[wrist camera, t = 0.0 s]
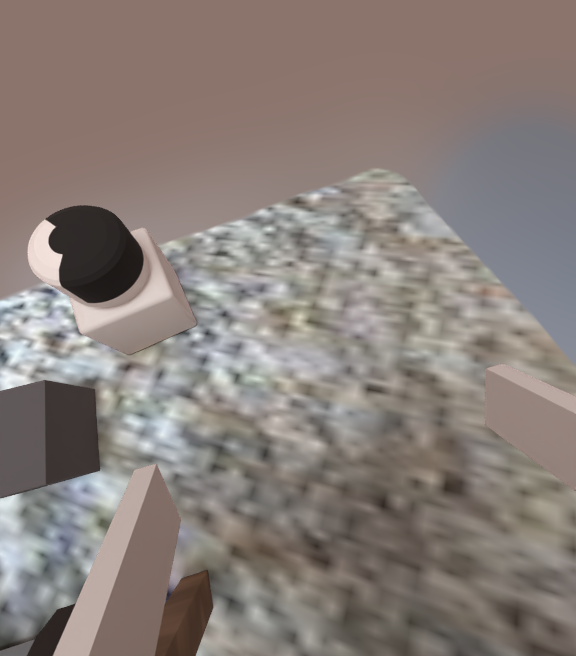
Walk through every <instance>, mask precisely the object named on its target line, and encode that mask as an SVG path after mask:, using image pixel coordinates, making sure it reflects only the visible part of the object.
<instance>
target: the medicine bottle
mask: <svg viewBox="0 0 576 656" xmlns="http://www.w3.org/2000/svg"><path fill="white" fill-rule="evenodd" d="M28 261H29V264H30V267H31V269H32V271H33V272H34V274H35V275H36V276H37V277H39V278H40V279H41V280H43V281H44V282H46V283H47V284H49V285H51V286H52V287H54V288H56V289H57V290H59V291H61V292H62V293H64V294H66V295H67V296H69V298H70V301H71V305H72V308H73V311H74V315H75V318H76V322H77V325H78V329H79V331H80V333H81V334H83V335H85V336H87V337H89V338H92V339H94V340H96V341H98V342H100V343H103V344H105V345H107V346H109V347H111V348H114V349H116V350H118V351H120V352H122V353H125V354H127V355H130V354H133V353H135V352H137V351H139V350H142V349H144V348H146V347H149V346H151V345H153V344H155V343H158V342H160V341H162V340H164V339H167V338H169V337H171V336H174V335H176V334H178V333H180V332H183V331H185V330H187V329H189V328H192V327H194V326H195V325H196V320H195V317H194V315H193V313H192V310H191V308H190V306H189V303H188V301H187V299H186V296H185V294H184V292H183V289H182V287H181V285H180V282H179V280H178V278H177V275H176V273H175V271H174V269H173V267H172V266H171V264H170V263H169V262H168V260H167V259H166V257H165V256H164V254H163V253H162V251H161V250H160V248H159V247H158V246H157V244H156V243H155V241H154V240H153V238H152V237H151V235H150V234H149V232H148V231H147V230H146V229H145V228H140V229H137V230H134V231H132V232H129V230H128V229H127V228H126V227H125V225H124V224H123V223H122V221H121V220H120V219H119V218H118V217H117V216H116V215H115V214H113V213H112V212H110V211H108V210H106V209H103V208H100V207H95V206H73V207H69V208H65V209H62V210H60V211H58V212H55V213H54V214H52V215H50V216H49V217H48V218H46V219H45V220H44V221H43V222H42V223H41V224H40V225H39V226H38V227H37V228H36V229H35V231H34V232H33V234H32V236H31V238H30V241H29V244H28Z"/></svg>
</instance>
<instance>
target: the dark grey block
mask: <svg viewBox="0 0 576 656" xmlns="http://www.w3.org/2000/svg"><path fill="white" fill-rule="evenodd" d="M97 471H100V466H99V449H98V433H97V417H96V401H95V389H90V388H84V387H79V386H74V385H68V384H63V383H58V382H52V381H47V380H43V381H39V382H35V383H31V384H27V385H23V386H19V387H15V388H11V389H7V390H3V391H0V498H4V497H8V496H12V495H15V494H19V493H23V492H27V491H30V490H34V489H37V488H41V487H44V486H48V485H51V484H55V483H58V482H62V481H65V480H69V479H72V478H76V477H79V476H83V475H86V474H90V473H93V472H97Z"/></svg>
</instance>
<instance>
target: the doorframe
mask: <svg viewBox="0 0 576 656" xmlns="http://www.w3.org/2000/svg"><path fill="white" fill-rule="evenodd" d="M212 609H213V603H212V597H211V590H210V584H209V577H208V571H204V572H201V573H198V574H195V575H192V576H189V577H186V578H183V579H181V580H180V582H179V584H178V585H177V587H176V588H175V590H174V591H173V593H172V594H171V596H170V598H169V599H168V601H167V602H166V604H165V605H164V610H163V616H162V621H161V626H160V631H159V636H158V641H157V647H156V652H155V656H196V653H197V650H198V647H199V645H200V642H201V639H202V637H203V634H204V631H205V628H206V626H207V623H208V620H209V618H210V615H211V612H212Z"/></svg>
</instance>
